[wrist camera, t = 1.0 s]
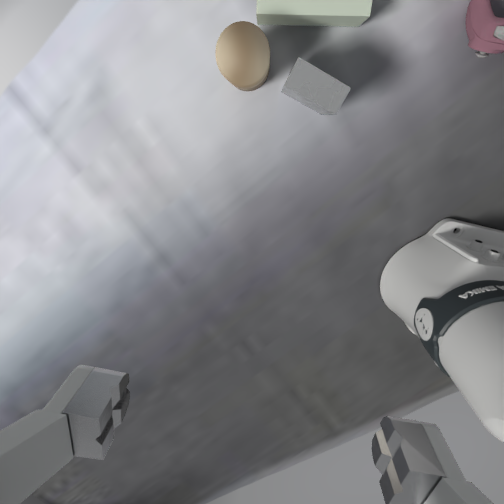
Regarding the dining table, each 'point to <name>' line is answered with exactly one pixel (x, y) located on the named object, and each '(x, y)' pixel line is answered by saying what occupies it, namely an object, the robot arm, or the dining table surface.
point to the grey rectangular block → (315, 88)
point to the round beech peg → (243, 55)
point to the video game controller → (484, 28)
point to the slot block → (313, 12)
